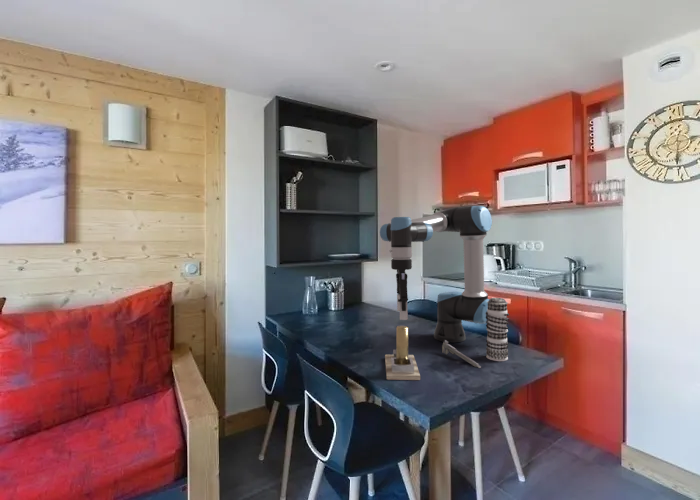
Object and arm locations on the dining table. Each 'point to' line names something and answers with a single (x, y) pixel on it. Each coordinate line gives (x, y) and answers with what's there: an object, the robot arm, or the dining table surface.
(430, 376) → the dining table surface
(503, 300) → the decorative candle
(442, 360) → the dining table surface
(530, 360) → the dining table surface
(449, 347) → the caliper
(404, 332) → the brass cylinder
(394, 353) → the fitting board
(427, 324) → the dining table surface
